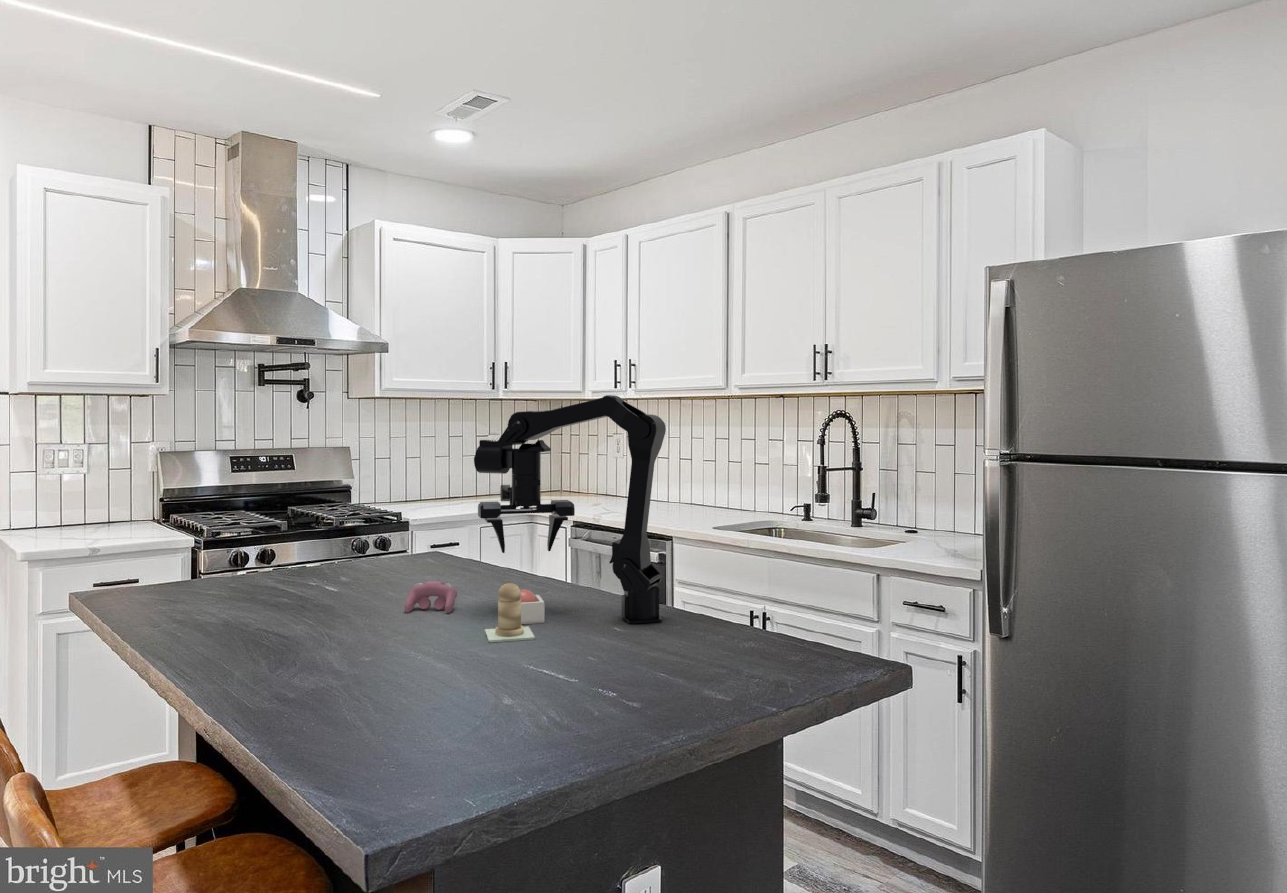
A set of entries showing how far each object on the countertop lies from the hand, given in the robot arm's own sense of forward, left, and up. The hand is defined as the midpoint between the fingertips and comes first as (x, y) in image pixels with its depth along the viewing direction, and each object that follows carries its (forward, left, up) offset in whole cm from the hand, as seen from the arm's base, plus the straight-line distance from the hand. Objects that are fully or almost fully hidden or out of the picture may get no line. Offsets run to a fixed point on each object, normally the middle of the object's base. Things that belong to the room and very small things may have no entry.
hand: (526, 551), depth 171 cm
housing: (+2, +7, -12) cm, 14 cm away
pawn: (+6, +18, -12) cm, 22 cm away
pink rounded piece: (+2, +7, -12) cm, 14 cm away
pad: (+6, +18, -12) cm, 23 cm away
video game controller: (+18, -6, -12) cm, 23 cm away
